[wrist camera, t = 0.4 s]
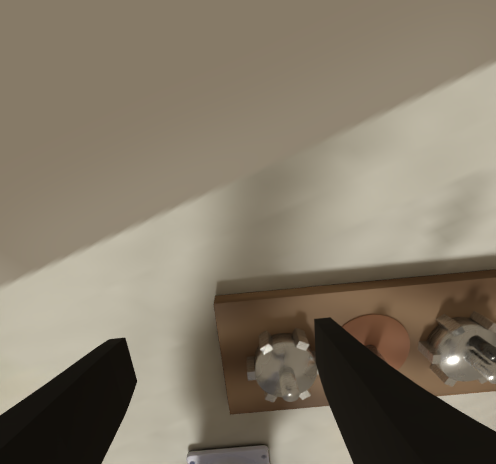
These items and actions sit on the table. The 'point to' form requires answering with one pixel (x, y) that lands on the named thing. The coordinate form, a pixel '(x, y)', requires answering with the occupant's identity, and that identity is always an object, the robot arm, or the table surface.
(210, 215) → the table surface
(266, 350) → the mounted gears
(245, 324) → the gear board
